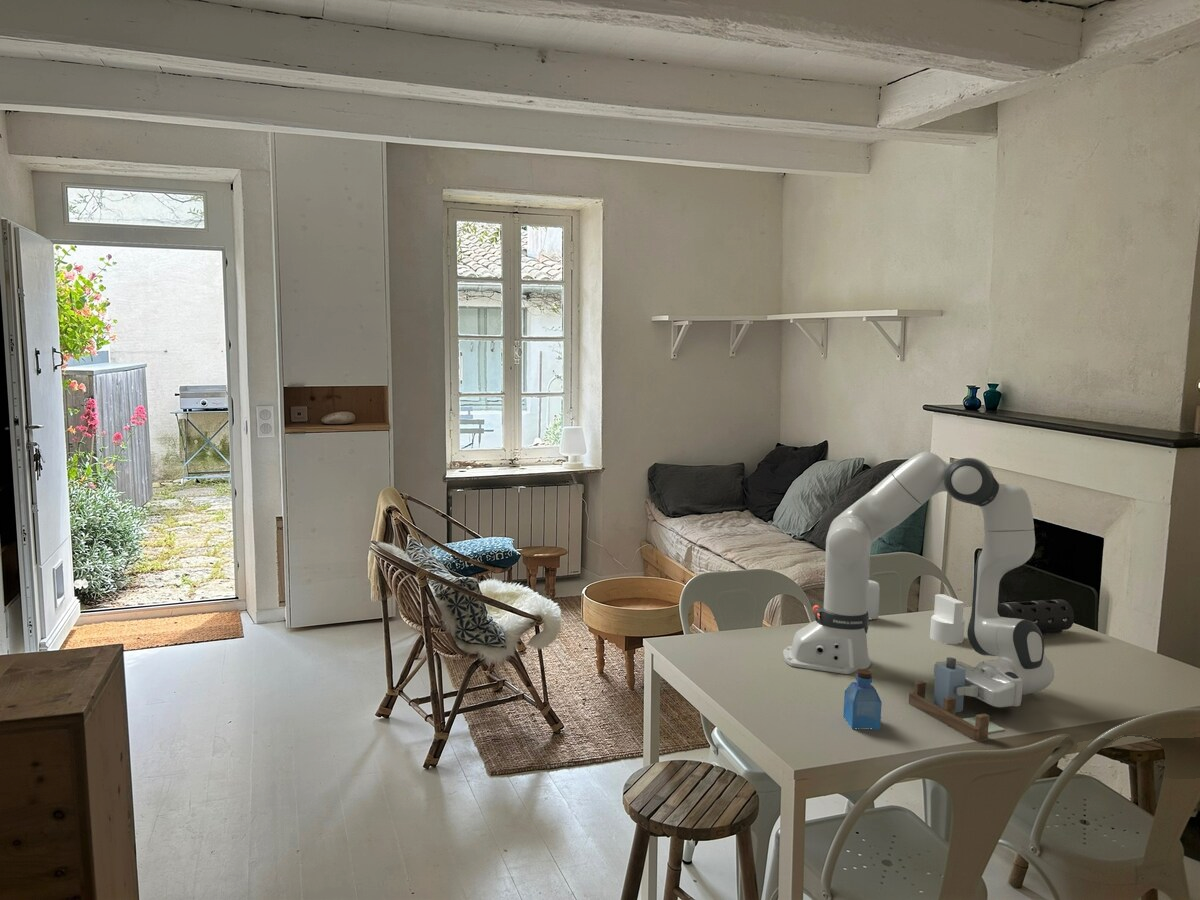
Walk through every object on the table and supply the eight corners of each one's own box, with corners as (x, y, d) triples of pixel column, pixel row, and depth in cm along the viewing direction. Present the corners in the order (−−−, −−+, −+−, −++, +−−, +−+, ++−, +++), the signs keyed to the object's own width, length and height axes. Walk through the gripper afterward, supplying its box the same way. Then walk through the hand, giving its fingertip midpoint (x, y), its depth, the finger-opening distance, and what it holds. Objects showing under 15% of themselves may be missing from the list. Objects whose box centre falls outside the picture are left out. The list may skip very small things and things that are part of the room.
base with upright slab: (923, 635, 258) (925, 595, 256) (949, 632, 261) (951, 593, 259) (943, 645, 249) (946, 604, 248) (970, 642, 252) (973, 602, 251)
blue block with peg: (947, 713, 202) (950, 663, 201) (933, 706, 206) (936, 656, 205) (962, 711, 204) (966, 661, 202) (948, 703, 208) (952, 654, 207)
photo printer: (847, 621, 269) (850, 581, 268) (842, 617, 274) (844, 578, 272) (880, 621, 271) (882, 581, 269) (874, 616, 275) (876, 577, 273)
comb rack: (974, 740, 189) (975, 718, 188) (908, 703, 208) (909, 682, 207) (1010, 733, 192) (1012, 711, 192) (943, 697, 211) (944, 677, 211)
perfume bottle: (870, 717, 199) (873, 666, 198) (880, 729, 193) (883, 676, 192) (843, 717, 199) (846, 666, 198) (852, 729, 193) (855, 676, 192)
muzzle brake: (1073, 637, 259) (1076, 603, 258) (991, 643, 252) (993, 608, 251) (1049, 627, 268) (1052, 594, 267) (969, 632, 261) (972, 598, 260)
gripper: (961, 652, 218) (916, 657, 213) (1028, 682, 199) (980, 689, 194) (959, 676, 219) (914, 683, 214) (1025, 708, 200) (978, 716, 195)
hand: (946, 686), depth 204 cm, fingers closed on blue block with peg, 4 cm apart
